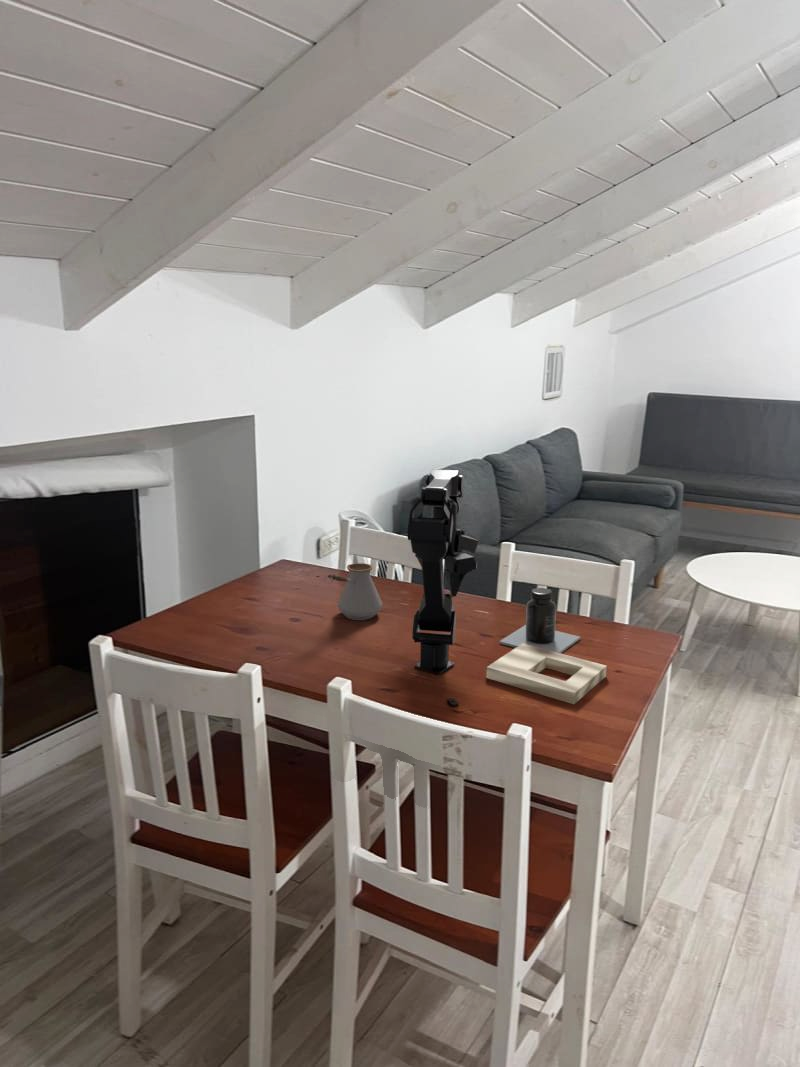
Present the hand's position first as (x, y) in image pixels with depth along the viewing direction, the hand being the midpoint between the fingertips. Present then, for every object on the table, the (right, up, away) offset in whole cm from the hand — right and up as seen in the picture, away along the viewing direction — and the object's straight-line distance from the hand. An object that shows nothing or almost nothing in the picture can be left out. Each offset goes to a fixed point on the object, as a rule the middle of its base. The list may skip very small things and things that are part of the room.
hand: (442, 590), depth 186 cm
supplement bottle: (+23, -12, +5) cm, 26 cm away
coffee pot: (-22, -9, +17) cm, 29 cm away
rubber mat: (+23, -12, +5) cm, 27 cm away
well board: (+21, -17, -14) cm, 31 cm away
